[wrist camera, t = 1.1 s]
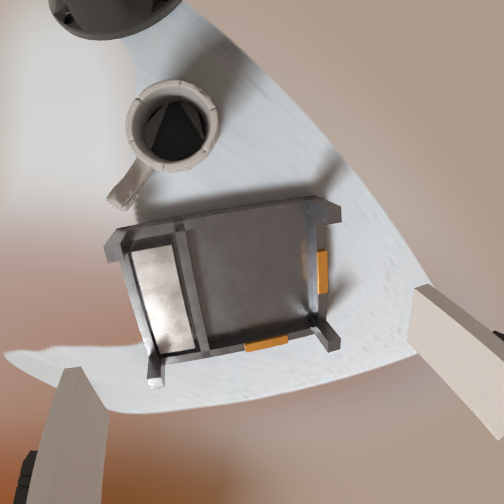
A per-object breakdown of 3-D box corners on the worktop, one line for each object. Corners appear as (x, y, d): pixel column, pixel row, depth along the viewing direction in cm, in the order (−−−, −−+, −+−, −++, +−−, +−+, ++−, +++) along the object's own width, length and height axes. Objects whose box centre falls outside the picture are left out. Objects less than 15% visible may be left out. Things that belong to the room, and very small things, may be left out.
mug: (230, 122, 29) (259, 108, 18) (159, 219, 31) (147, 260, 20) (169, 78, 27) (161, 39, 15) (98, 177, 28) (53, 196, 17)
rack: (116, 228, 30) (103, 246, 25) (315, 195, 33) (341, 206, 28) (153, 356, 36) (151, 389, 30) (320, 322, 39) (340, 349, 33)
